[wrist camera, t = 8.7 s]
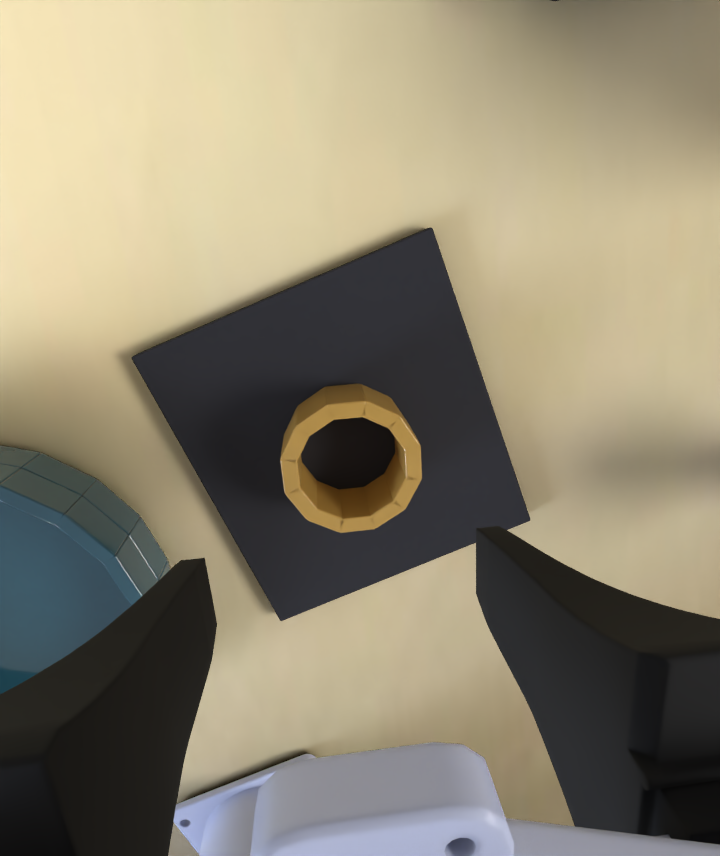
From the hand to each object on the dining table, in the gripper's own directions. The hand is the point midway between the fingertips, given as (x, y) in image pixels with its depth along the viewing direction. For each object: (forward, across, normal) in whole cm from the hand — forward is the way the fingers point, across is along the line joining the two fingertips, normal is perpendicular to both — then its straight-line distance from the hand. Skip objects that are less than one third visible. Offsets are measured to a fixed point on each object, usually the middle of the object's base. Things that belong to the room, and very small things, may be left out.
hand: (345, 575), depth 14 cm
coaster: (+9, -1, -1) cm, 9 cm away
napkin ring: (+8, -1, -1) cm, 8 cm away
